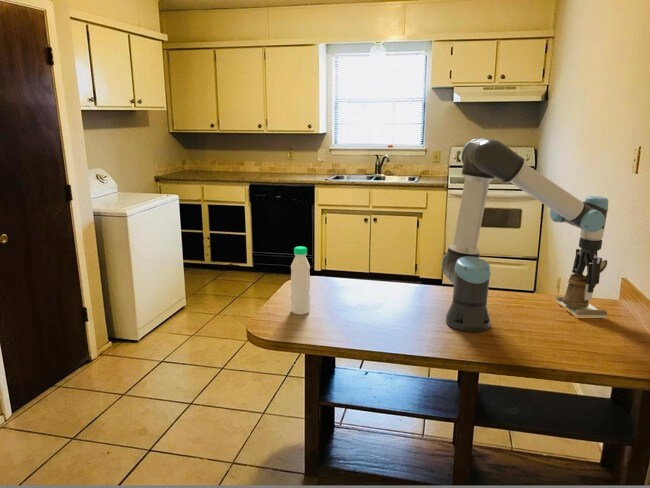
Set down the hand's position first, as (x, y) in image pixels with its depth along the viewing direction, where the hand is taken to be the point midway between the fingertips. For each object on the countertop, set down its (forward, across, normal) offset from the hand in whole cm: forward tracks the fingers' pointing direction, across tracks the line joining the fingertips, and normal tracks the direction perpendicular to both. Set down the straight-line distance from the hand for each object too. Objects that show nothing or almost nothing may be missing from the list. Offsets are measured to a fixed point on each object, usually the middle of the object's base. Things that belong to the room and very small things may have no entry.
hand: (582, 296), depth 189 cm
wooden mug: (+3, 0, 0) cm, 3 cm away
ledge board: (+6, 0, 0) cm, 6 cm away
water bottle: (+6, -2, +108) cm, 108 cm away
